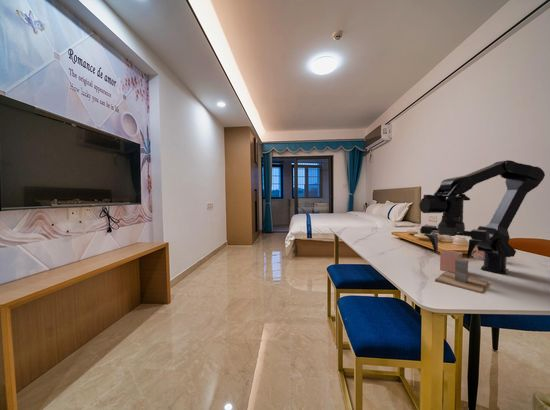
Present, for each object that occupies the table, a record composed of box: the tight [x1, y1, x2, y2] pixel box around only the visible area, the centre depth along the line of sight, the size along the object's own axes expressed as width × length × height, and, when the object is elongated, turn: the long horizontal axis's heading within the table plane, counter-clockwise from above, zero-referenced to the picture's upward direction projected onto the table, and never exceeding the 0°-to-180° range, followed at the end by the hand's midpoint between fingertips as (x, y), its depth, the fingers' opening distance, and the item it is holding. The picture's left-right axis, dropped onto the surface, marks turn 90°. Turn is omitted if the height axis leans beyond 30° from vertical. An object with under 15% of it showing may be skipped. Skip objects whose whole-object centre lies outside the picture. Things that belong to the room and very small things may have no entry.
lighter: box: [471, 245, 484, 262], centre depth 92 cm, size 8×3×10 cm, turn 168°
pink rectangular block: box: [439, 249, 463, 274], centre depth 78 cm, size 5×5×7 cm
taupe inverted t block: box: [434, 258, 489, 294], centre depth 67 cm, size 11×11×7 cm
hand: (451, 255), depth 78 cm, fingers open, 9 cm apart
